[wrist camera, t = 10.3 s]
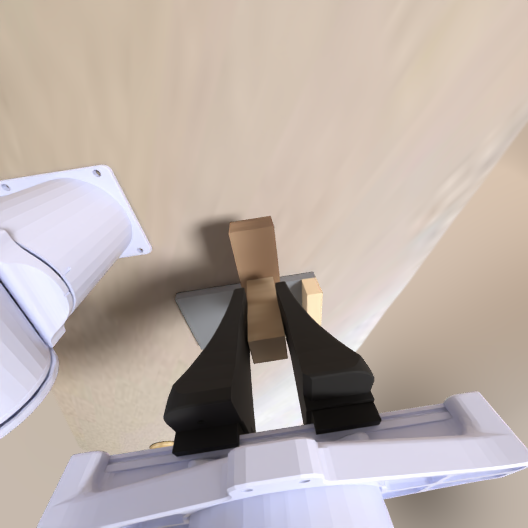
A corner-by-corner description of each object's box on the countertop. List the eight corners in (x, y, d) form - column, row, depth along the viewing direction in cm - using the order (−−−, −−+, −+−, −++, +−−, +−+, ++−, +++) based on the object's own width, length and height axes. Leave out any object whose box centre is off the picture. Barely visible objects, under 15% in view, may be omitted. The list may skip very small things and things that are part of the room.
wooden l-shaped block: (252, 318, 21) (255, 399, 14) (230, 222, 15) (220, 283, 9) (282, 313, 21) (299, 392, 14) (270, 216, 15) (289, 273, 9)
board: (202, 343, 30) (198, 366, 28) (176, 293, 24) (168, 316, 22) (312, 325, 30) (319, 347, 28) (313, 271, 24) (322, 292, 22)
